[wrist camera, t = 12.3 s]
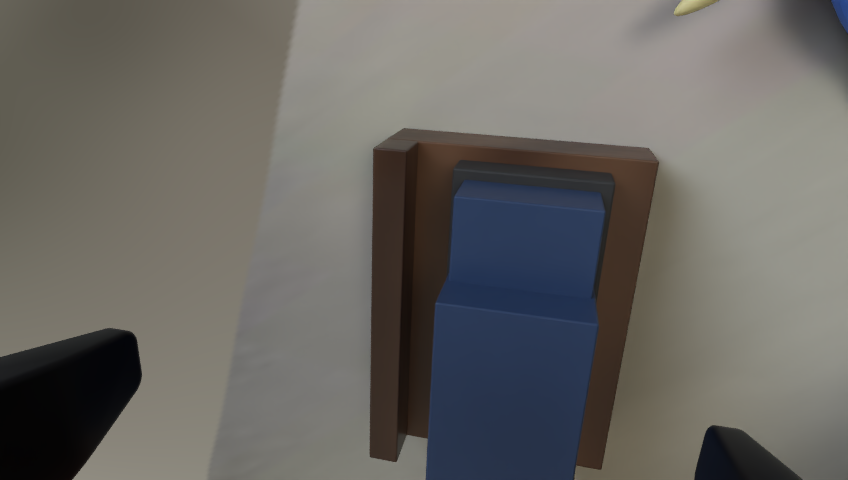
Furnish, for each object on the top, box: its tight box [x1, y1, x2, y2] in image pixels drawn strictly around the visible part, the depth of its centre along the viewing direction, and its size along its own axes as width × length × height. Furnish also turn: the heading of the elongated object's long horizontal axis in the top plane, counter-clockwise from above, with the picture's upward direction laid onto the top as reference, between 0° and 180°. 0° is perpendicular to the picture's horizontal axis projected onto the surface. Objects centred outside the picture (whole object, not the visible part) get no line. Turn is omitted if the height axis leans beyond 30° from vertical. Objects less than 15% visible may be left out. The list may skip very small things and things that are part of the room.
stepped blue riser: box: [426, 160, 616, 480], centre depth 17 cm, size 10×4×4 cm, turn 177°
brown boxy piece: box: [370, 128, 659, 470], centre depth 19 cm, size 8×11×4 cm
